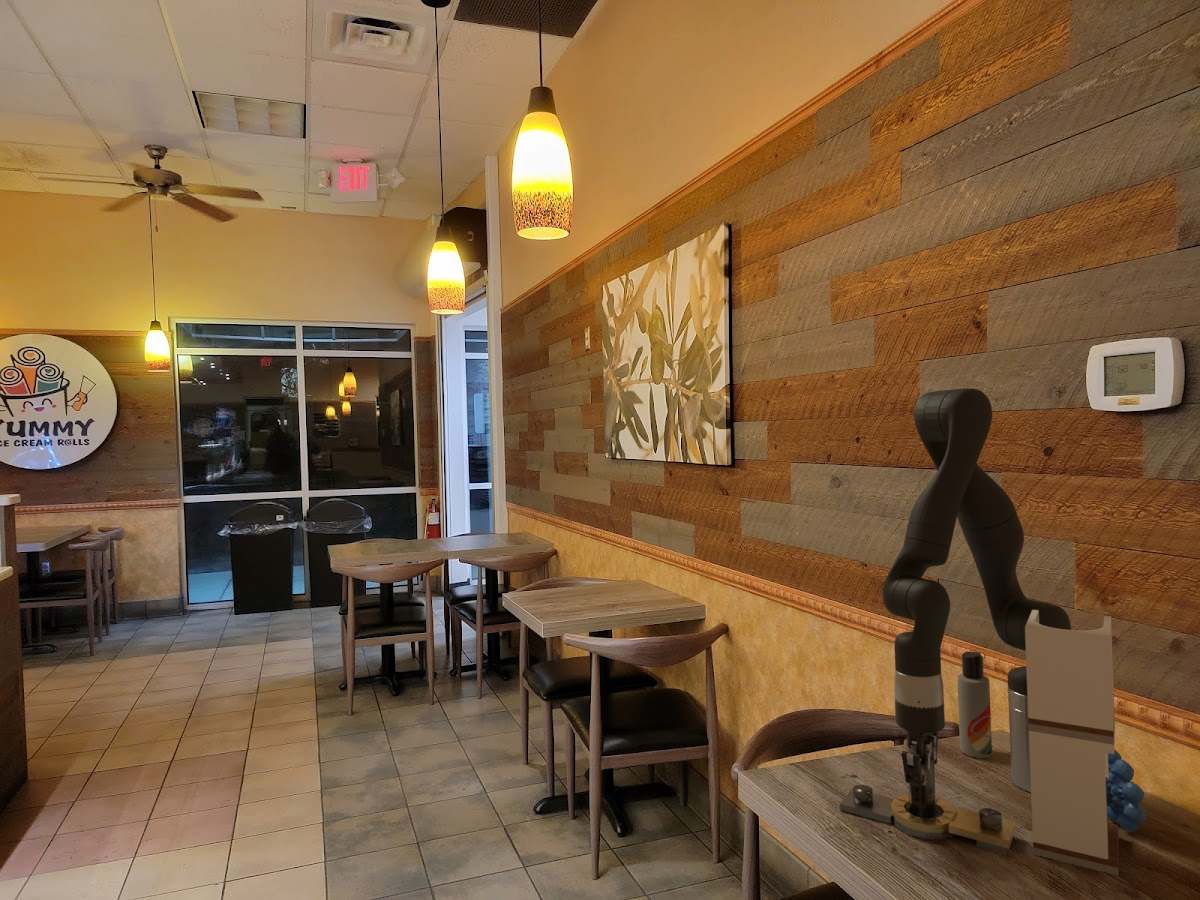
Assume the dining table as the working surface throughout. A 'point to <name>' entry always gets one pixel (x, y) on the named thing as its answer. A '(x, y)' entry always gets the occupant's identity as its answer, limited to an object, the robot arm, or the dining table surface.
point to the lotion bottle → (974, 707)
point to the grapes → (1123, 795)
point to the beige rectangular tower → (1071, 743)
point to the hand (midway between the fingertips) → (922, 798)
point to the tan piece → (933, 819)
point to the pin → (930, 807)
